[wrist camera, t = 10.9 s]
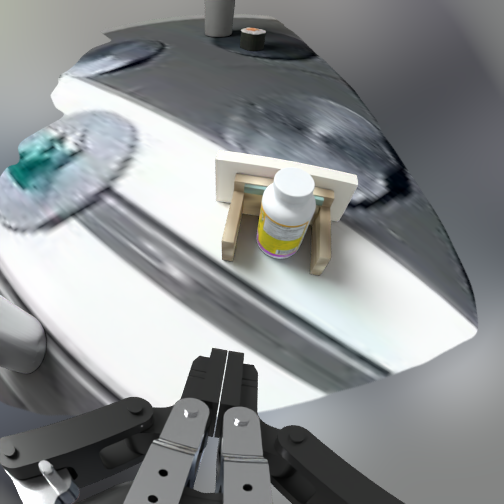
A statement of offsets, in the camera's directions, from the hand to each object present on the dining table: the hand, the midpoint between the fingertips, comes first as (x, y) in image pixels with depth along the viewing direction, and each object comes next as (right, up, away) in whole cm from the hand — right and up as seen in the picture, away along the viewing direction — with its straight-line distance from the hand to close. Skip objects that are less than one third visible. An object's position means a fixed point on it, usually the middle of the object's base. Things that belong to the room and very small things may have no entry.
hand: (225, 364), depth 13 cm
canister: (-12, +94, +77) cm, 122 cm away
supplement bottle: (+5, +7, +30) cm, 31 cm away
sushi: (+1, +78, +70) cm, 105 cm away
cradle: (+5, +7, +30) cm, 31 cm away
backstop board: (+6, +13, +33) cm, 36 cm away
